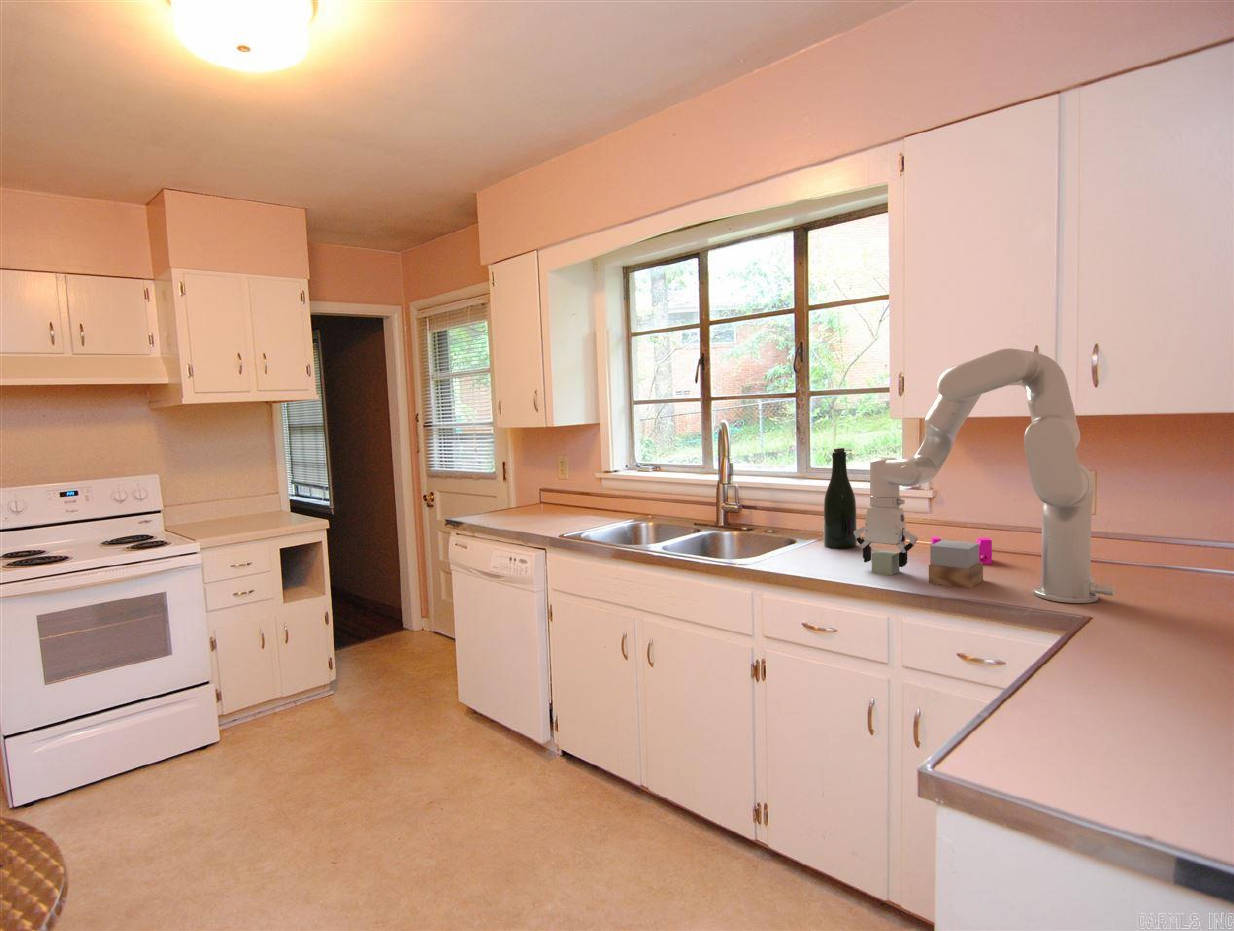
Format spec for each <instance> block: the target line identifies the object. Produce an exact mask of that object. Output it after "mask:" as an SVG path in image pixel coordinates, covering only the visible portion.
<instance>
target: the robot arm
mask: <svg viewBox="0 0 1234 931" xmlns="http://www.w3.org/2000/svg"><path fill="white" fill-rule="evenodd" d="M1008 386H1020V387H1023V388H1024V390H1025V392H1026V400H1027V407H1028V410H1029V414H1030V419H1031V423H1030V424H1028V427H1027V428H1025V429H1026V430H1025V432H1024V435H1023V448H1024V453H1025V458H1026V463H1027V468H1028V473H1029V476H1030V481H1031V482H1030V483H1031V486H1032V489H1033V492H1034V494H1035V496H1036V497H1037V498H1038V499H1039V501H1040V502H1042V512H1041V558H1040V559H1041V565H1040V566H1041V572H1040V573H1041V574H1040V575H1041V576H1040V577H1041V579H1040V581H1041V582H1040V583H1041V584H1040V585H1037V586H1035V587H1034V588H1033V594H1034V595H1035V596H1036V597H1038V598H1041V599H1044V600H1047V601H1053V602H1059V603H1065V604H1066V603H1067V604H1068V603H1069V604H1089V603H1090V604H1091V603H1095V602H1097V601H1098V600H1099V595H1104V596H1110V597H1111V596H1112V597H1114V594H1115V588H1114V586H1110V585H1107V584H1098V583H1097V582H1095V578H1094V577H1091V561H1092V560H1091V557H1092V556H1091V554H1092V552H1091V551H1092V550H1091V549H1092V516H1093V515H1092V514H1093V502H1094V500H1093V499H1094V491H1095V487H1094V485H1095V484H1094V479H1093V476H1092V474H1091V472H1090V470H1089V469H1088V468H1087V467H1085V465H1083V464H1081V463H1080V462H1079V458H1078V454H1077V447H1078V446H1079V444H1080V441H1081V432H1080V429H1079V425H1078V421H1077V416H1076V413H1075V407H1074V404H1073V399H1072V396H1071V391H1070V387H1069V384H1068V379H1067V377H1066V375H1065V372H1064V370H1063V369H1062V367H1061V366H1060V365H1059V363H1057V362H1056V361H1055V360H1054V359H1052V358H1051V357H1049V356H1047V355H1045V354H1042V353H1039V352H1034V351H1030V350H1025V349H1019V348H1003V349H999V350H995V351H992V352H990V353H987V354H984V355H982V356H980V357H979V356H978V357H976V358H973V359H971V360H968V361H966V362H963V363H959V364H957V365H955V366H952V367H950V368H948V369H946V370H945V371H944V372H943V373H942V374H941V375H940V376H939V377H938V381H937V391H938V393H939V394H938V396H937V398H936V399H935V402H934V403H933V405H932V406H931V407H930V409H929V411H928V413H927V414H926V415H925V416H926V417H925V419H924V422H925V428H926V434H925V437H924V439H923V441H922V444H921V445H920V447H919V449H918V450H917V451H916V453H915V455H914V457H909V458H902V459H898V458H895V457H875V458H873V459H871V460H870V463H869V478H870V479H869V492H870V493H869V494H870V496H869V505H868V507H867V508H866V514H865V519H864V520H865V522H864V526H862V527H860V528H859V529H858V528H857V530H855V531H854V535H855V537H856V538H857V543H858V544H859V545H860V547H861V548H862V559H863V561H864V563H868V562H870V561H871V562H872V547H871V546H870V545H871V544H873V543H874V544H875V543H876V544H881V545H882V544H883V545H891V546H897V548H898V550H900V552H899V566H900V568H903V567H905V566H906V565H907V564H908V552H909V551H910V550H911V549H912V548H914V546H915V544H916V542H918V541H917V540H918V539H919V538H918V536H917V535H915V534H913V533H912V532H910V531H908V530H907V528H906V527H907V526H906V519H905V513H904V508H903V507H901V506H902V505H903V506H904V505H905V499H902V498H901V496H900V487H901V486H902V487H908V488H909V487H910V488H911V487H917V486H919V485H923V484H926V483H929V482H931V481H932V480H933V479H934V478H935V477H936V476H937V475H938V473H939V471H940V470H941V468H942V466H943V465H944V463H945V462H946V461H947V459H948V457H949V456H950V453H951V451H952V448H953V446H954V443H955V442H956V439H957V436H958V433H959V431H960V430H961V428H962V427H963V425H964V423H965V422H966V420H967V419H968V417H969V416H970V414H971V413H972V410H973V409H974V408H975V406H976V404H977V402H978V401H979V399H980V398H981V396H982V395H983V394H986V393H989V392H992V391H995V390H998V389H1000V388H1001V389H1002V388H1004V387H1008ZM862 533H864V537H863V536H862ZM907 539H909V541H908V543H907V544H906V541H907Z"/></svg>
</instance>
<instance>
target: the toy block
mask: <svg viewBox="0 0 1234 931" xmlns="http://www.w3.org/2000/svg"><path fill="white" fill-rule="evenodd" d="M930 539H931V541H930V542H931V545H933V544H935V543H937V542H939V541H941V540H942V539H941V537H939V536H931V538H930ZM976 543H979V562H981V563H983V565H993V540H992V539H991V538H990V537H978V539H977V541H976ZM931 545H930V546H931Z"/></svg>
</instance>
